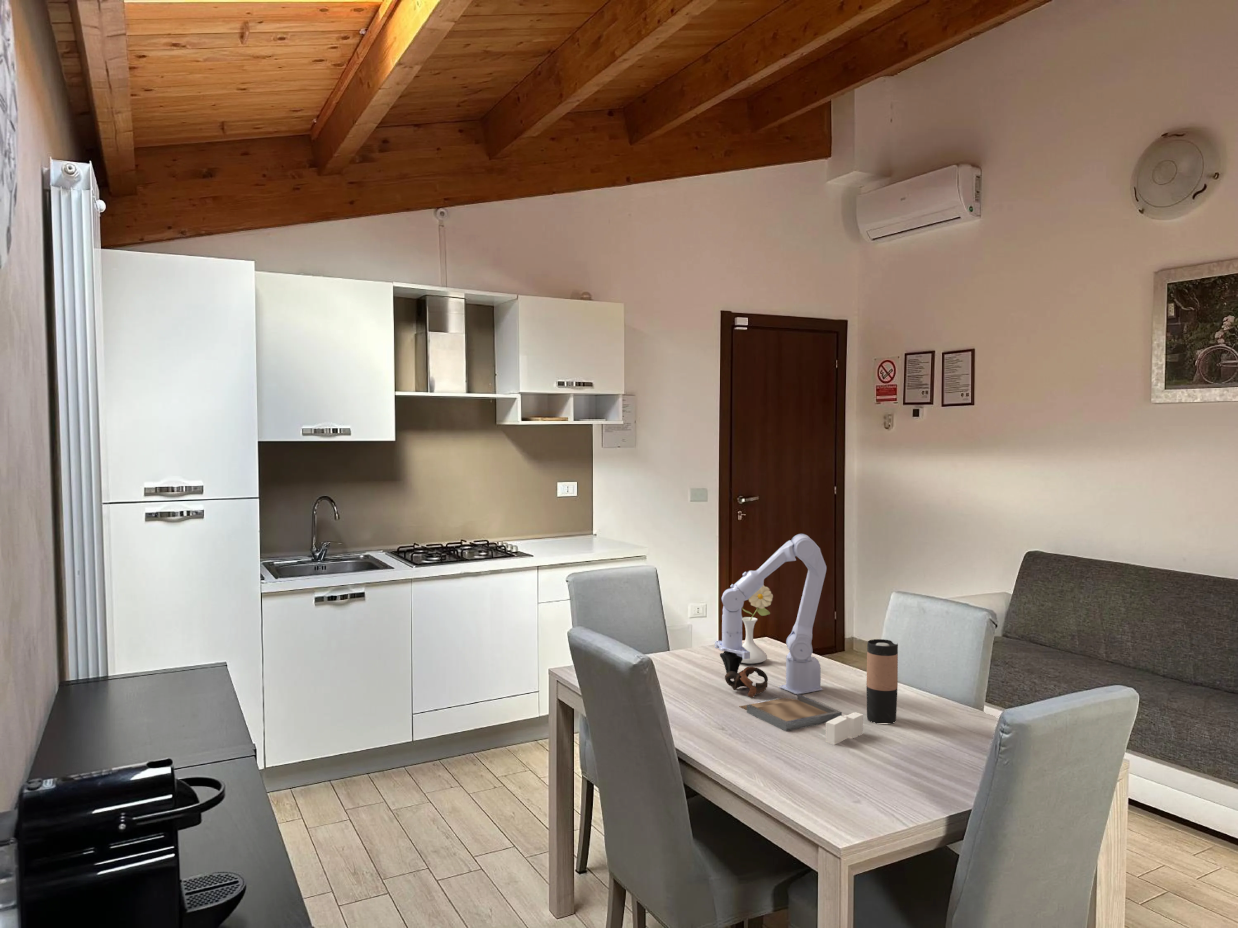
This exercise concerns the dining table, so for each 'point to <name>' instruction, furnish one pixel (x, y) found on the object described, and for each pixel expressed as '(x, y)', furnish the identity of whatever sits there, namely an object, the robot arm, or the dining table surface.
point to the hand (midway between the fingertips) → (731, 677)
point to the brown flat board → (787, 708)
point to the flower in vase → (759, 601)
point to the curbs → (797, 722)
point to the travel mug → (882, 680)
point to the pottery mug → (747, 680)
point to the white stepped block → (844, 728)
